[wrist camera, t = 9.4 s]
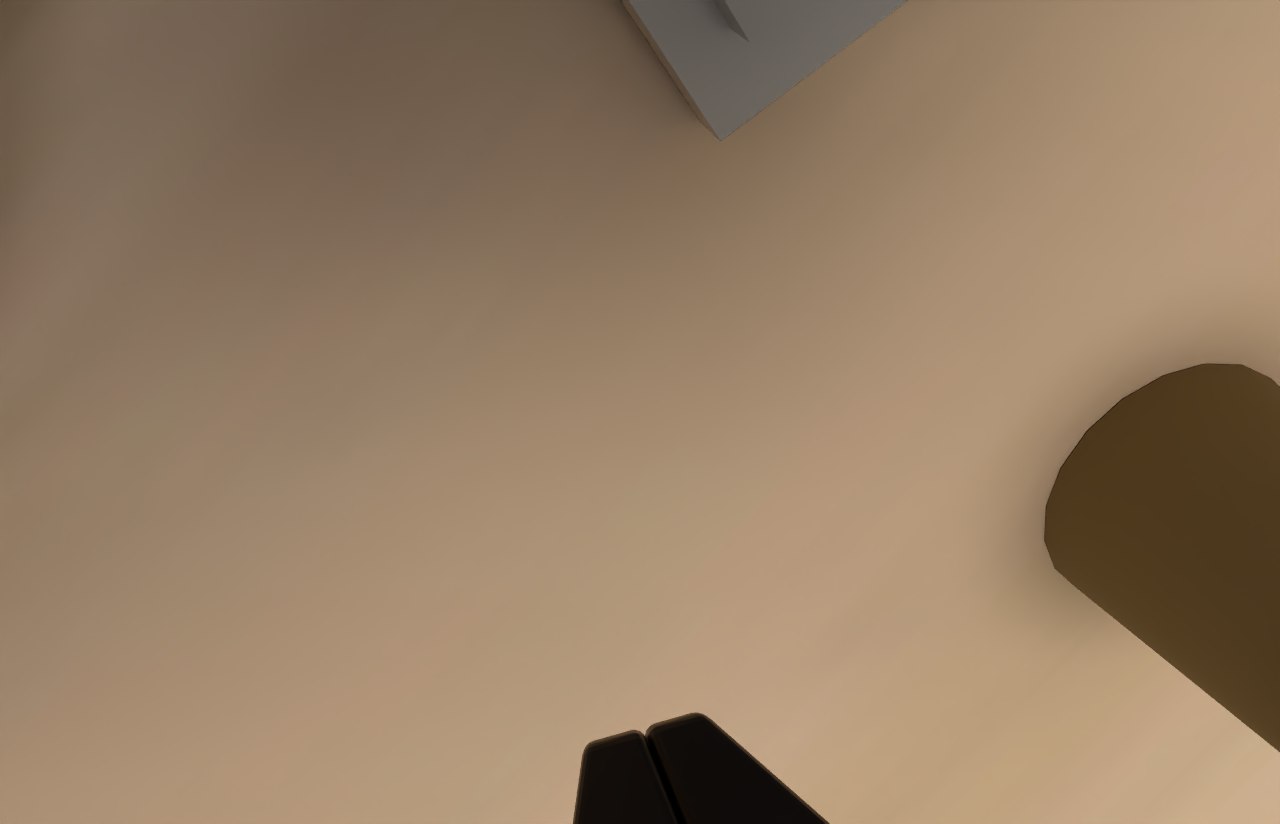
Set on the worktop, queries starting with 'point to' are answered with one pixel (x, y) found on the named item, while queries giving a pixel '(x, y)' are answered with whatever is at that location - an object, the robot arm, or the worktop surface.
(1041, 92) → the worktop surface
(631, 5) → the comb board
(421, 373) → the worktop surface
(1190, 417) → the cork
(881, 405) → the worktop surface
